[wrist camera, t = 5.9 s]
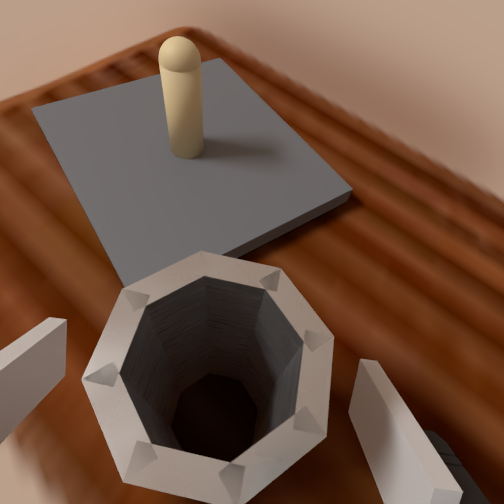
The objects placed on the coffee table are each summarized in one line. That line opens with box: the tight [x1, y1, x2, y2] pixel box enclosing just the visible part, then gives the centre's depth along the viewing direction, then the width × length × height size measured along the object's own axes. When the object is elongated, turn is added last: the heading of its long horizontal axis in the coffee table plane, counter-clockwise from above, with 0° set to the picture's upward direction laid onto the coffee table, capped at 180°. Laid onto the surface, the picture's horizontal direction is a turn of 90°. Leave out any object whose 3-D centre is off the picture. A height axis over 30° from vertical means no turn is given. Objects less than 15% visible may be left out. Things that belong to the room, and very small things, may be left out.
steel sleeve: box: [81, 251, 334, 504], centre depth 14 cm, size 6×6×12 cm
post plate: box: [31, 36, 353, 287], centre depth 25 cm, size 20×18×10 cm
